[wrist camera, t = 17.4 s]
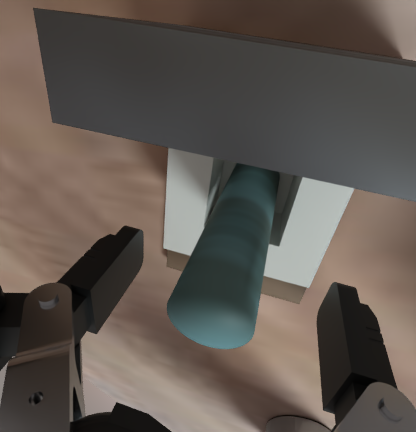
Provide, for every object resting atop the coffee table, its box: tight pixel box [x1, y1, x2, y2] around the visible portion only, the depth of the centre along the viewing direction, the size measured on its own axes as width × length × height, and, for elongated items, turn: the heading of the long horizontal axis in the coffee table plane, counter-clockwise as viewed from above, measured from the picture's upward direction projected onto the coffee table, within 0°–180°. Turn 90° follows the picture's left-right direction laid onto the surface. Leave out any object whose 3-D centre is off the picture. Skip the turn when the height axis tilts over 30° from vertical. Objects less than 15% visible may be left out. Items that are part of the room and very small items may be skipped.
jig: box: [33, 8, 416, 304], centre depth 17 cm, size 20×13×13 cm, turn 172°
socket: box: [163, 148, 354, 288], centre depth 19 cm, size 10×10×5 cm
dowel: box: [167, 163, 280, 349], centre depth 15 cm, size 3×3×12 cm
